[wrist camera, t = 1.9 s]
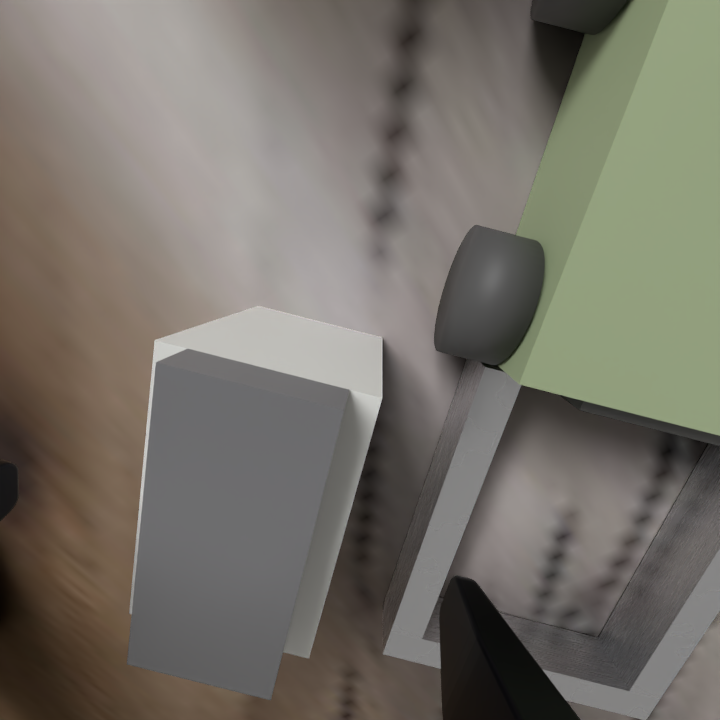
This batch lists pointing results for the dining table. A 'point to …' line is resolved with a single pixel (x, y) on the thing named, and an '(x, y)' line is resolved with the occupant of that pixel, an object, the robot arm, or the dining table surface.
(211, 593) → the chute block
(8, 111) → the dining table surface
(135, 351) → the dining table surface
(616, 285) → the green wheeled cart
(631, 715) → the gray rectangular open frame
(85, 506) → the dining table surface
